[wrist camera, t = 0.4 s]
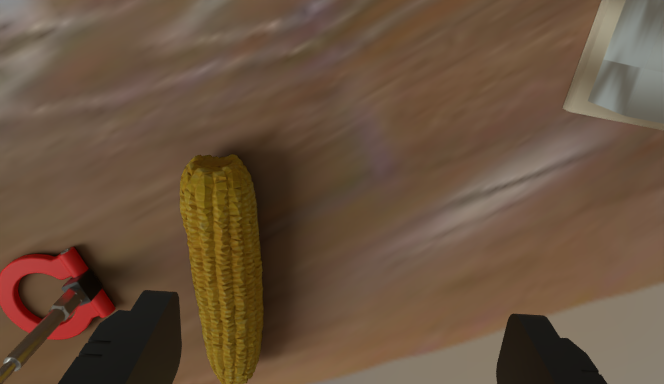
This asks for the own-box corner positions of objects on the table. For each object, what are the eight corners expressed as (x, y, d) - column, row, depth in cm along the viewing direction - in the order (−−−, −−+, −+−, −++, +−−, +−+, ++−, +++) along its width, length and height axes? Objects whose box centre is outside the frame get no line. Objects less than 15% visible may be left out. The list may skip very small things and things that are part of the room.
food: (186, 148, 39) (161, 173, 33) (257, 145, 39) (245, 170, 33) (218, 364, 47) (202, 413, 41) (278, 362, 47) (270, 411, 41)
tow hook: (41, 343, 46) (125, 312, 44) (-69, 466, 34) (39, 431, 32) (-15, 269, 43) (72, 234, 42) (-157, 375, 31) (-43, 332, 30)
